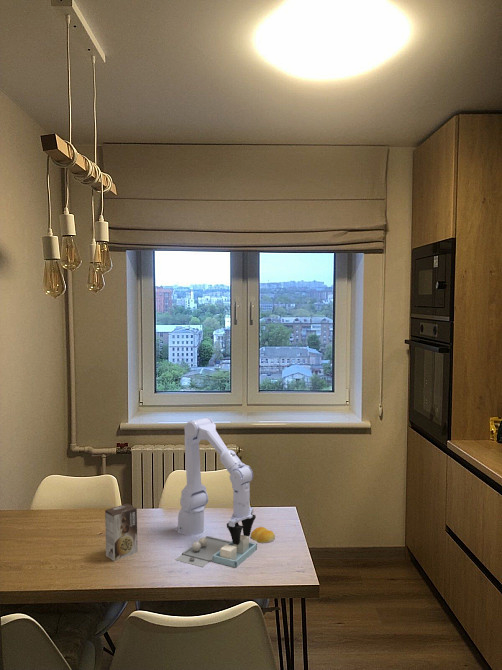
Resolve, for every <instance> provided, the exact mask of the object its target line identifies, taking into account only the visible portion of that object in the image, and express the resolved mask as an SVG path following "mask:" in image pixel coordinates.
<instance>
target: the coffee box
mask: <svg viewBox="0 0 502 670" xmlns="http://www.w3.org/2000/svg"><path fill="white" fill-rule="evenodd" d="M104 511H105V515H104V516H105V517H104V518H105V557H107V558H109V559H110V560H112V561H113V562H117V561H118V560H121V559H123V558H125V557H128V556H131V555H134V554H136V553H139V552H138V551H139V550H138V547H139V546H138V512H137V511H138V509H137V507H135V506H133V505H131V504H129V503H125V504H121V505H119V506H115V507H112V508H111V507H110V508H108V509H105V510H104Z"/></svg>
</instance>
